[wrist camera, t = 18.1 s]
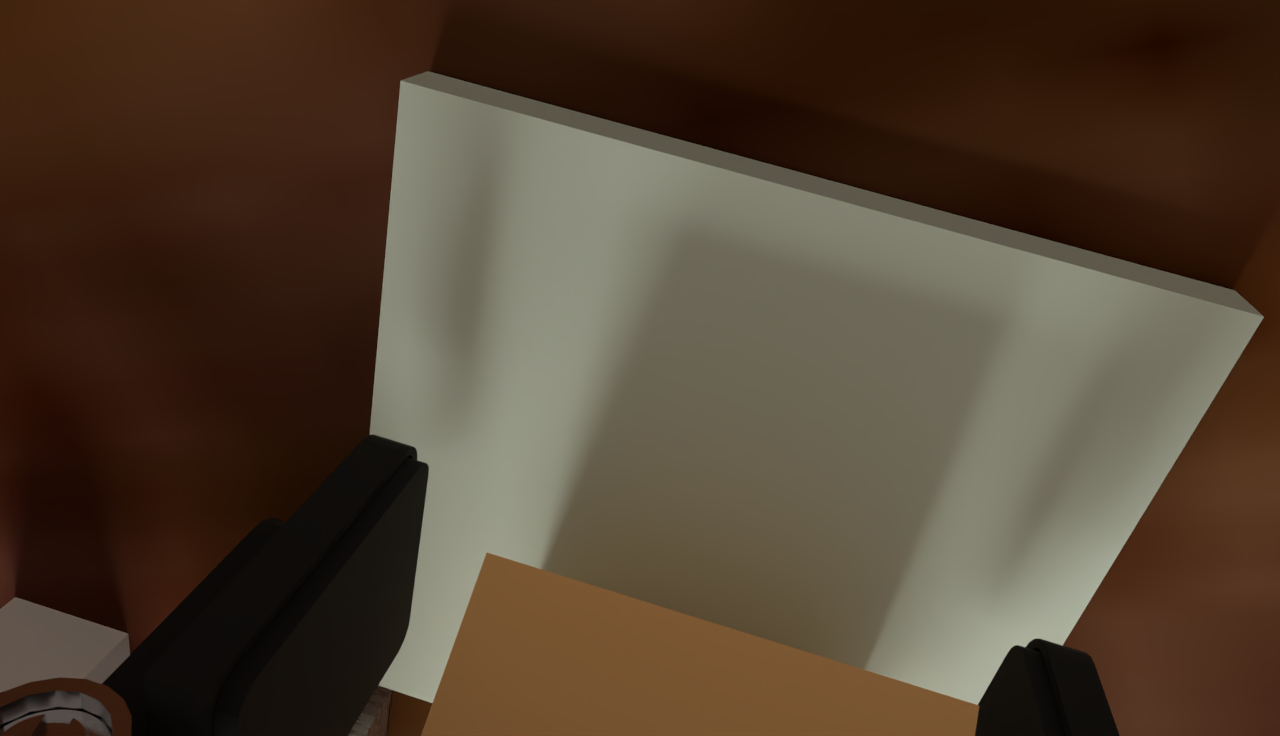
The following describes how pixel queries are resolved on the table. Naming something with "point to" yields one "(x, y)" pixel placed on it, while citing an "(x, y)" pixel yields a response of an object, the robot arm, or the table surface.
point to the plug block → (652, 673)
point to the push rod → (55, 646)
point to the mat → (765, 392)
